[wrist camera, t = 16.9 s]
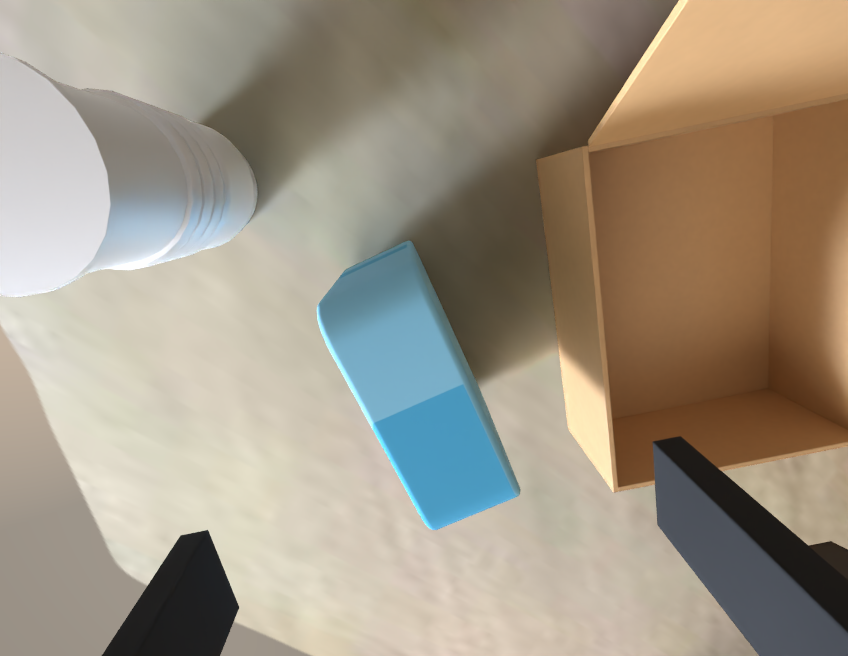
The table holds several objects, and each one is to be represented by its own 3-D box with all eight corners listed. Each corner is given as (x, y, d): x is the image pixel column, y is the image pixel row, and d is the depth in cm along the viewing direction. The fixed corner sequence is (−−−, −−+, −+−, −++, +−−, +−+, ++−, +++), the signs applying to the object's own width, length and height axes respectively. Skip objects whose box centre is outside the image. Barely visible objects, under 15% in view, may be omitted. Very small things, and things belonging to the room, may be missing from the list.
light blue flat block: (345, 266, 29) (307, 313, 17) (410, 236, 28) (415, 263, 17) (423, 421, 32) (436, 548, 20) (482, 395, 32) (529, 510, 20)
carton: (535, 159, 27) (581, 146, 20) (774, 110, 27) (903, 80, 20) (568, 429, 33) (613, 492, 26) (768, 389, 32) (869, 442, 25)
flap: (589, 147, 20) (587, 141, 20) (918, 78, 20) (916, 72, 20) (717, -45, 11) (714, -56, 11) (1337, -176, 10) (1331, -187, 10)
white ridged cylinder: (133, 128, 26) (-203, 43, 11) (256, 122, 26) (76, 31, 12) (159, 249, 28) (-101, 306, 13) (273, 243, 28) (137, 292, 14)
